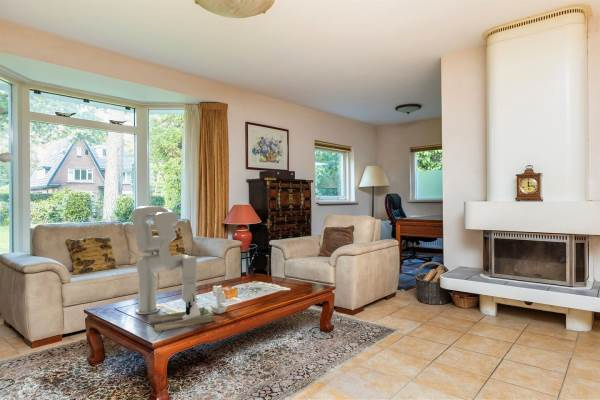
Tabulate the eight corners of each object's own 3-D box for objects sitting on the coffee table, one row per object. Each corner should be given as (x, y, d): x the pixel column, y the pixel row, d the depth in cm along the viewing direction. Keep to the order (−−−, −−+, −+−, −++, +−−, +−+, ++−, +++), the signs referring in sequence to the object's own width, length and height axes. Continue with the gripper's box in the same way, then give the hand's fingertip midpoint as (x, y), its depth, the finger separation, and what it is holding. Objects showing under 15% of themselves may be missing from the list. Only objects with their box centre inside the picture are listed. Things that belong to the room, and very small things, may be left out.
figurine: (219, 315, 204) (219, 288, 204) (208, 311, 210) (208, 285, 210) (229, 312, 210) (229, 286, 210) (218, 308, 216) (218, 283, 215)
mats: (150, 323, 190) (150, 323, 190) (161, 321, 193) (161, 321, 193) (155, 330, 181) (155, 330, 181) (167, 328, 184) (167, 327, 184)
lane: (149, 323, 191) (149, 315, 191) (204, 313, 207) (204, 306, 207) (154, 331, 180) (154, 323, 179) (213, 320, 196) (213, 313, 196)
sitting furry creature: (198, 317, 202) (197, 294, 204) (206, 317, 196) (205, 294, 198) (181, 319, 195) (181, 296, 197) (190, 320, 189) (189, 296, 191)
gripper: (178, 277, 199) (178, 311, 200) (186, 283, 187) (186, 319, 187) (192, 276, 203) (192, 309, 204) (200, 281, 191) (200, 316, 191)
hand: (189, 313), depth 195 cm, fingers closed
